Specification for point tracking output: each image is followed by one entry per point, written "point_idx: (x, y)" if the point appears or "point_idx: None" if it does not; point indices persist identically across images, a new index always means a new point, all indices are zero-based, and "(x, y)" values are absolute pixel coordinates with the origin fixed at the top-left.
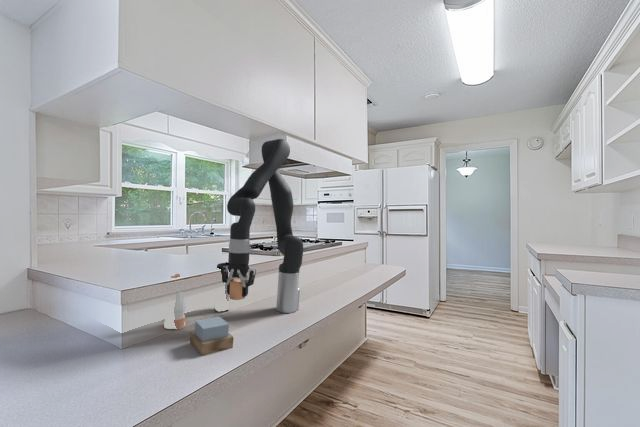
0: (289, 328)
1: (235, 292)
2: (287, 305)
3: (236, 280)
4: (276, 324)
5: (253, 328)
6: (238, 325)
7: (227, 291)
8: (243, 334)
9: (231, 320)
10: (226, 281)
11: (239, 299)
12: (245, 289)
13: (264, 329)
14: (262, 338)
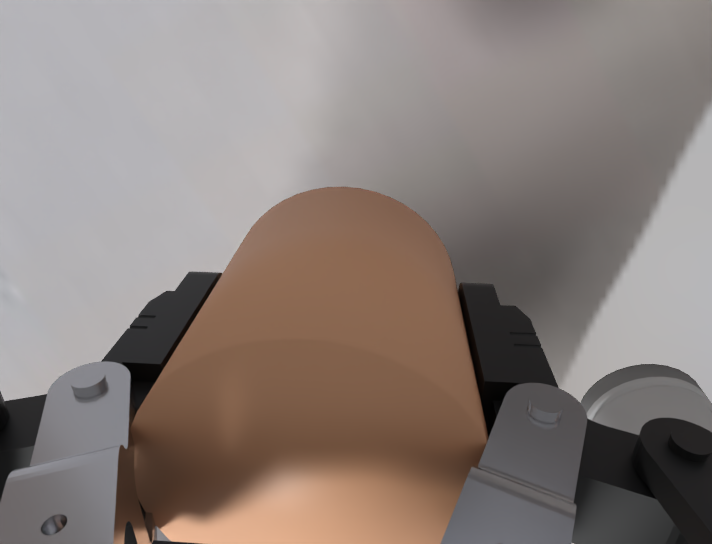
0: (6, 289)
1: (284, 241)
2: (166, 539)
3: None
4: (123, 316)
5: (214, 185)
6: None
7: (515, 320)
8: (205, 33)
9: (460, 258)
10: (608, 459)
11: (253, 225)
12: (126, 353)
13: (132, 203)
14: (25, 29)
